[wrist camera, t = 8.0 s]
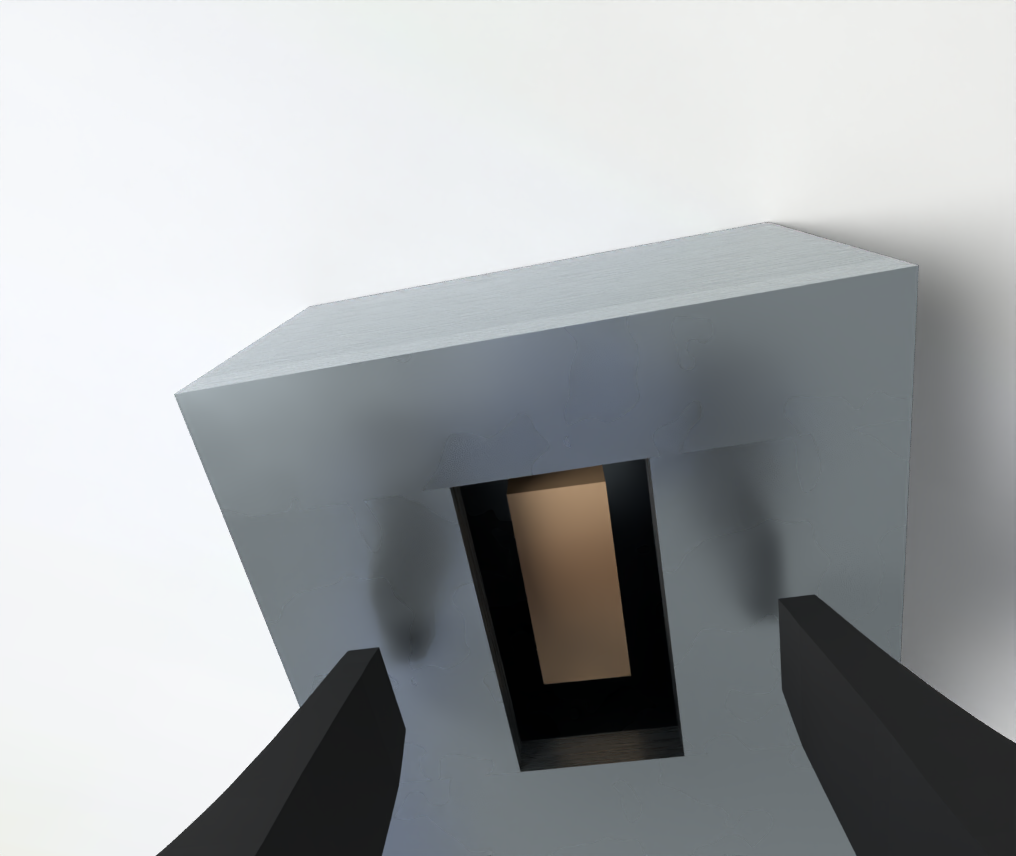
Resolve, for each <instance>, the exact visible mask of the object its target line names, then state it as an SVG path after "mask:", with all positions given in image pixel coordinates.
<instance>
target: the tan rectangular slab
mask: <svg viewBox="0 0 1016 856" xmlns="http://www.w3.org/2000/svg"><path fill="white" fill-rule="evenodd" d="M507 499H508V504H509V509H510V514H511V519H512V524H513V530H514V535H515V540H516V545H517V550H518V555H519V560H520V565H521V570H522V575H523V580H524V585H525V591H526V596H527V601H528V606H529V611H530V616H531V621H532V626H533V631H534V636H535V641H536V646H537V652H538V657H539V662H540V667H541V672H542V677H543V682H544V684H552V683H563V682H573V681H583V680H593V679H603V678H613V677H623V676H631V672H630V664H629V656H628V649H627V641H626V634H625V626H624V618H623V611H622V603H621V596H620V588H619V580H618V573H617V565H616V558H615V550H614V542H613V535H612V527H611V520H610V512H609V505H608V497H607V489H606V482H605V477H604V472H603V467H602V465H598V466H591V467H585V468H578V469H571V470H564V471H558V472H551V473H544V474H537V475H531V476H524V477H517V478H510V479H508V486H507Z"/></svg>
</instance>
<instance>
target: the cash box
mask: <svg viewBox="0 0 1016 856" xmlns="http://www.w3.org/2000/svg"><path fill="white" fill-rule="evenodd" d="M918 269H919V265H916V264H912V263H909V262H905V261H902V260H898V259H895V258H891V257H888V256H885V255H881V254H878V253H874V252H871V251H867V250H864V249H860V248H857V247H853V246H850V245H846V244H843V243H839V242H836V241H833V240H829V239H826V238H822V237H819V236H815V235H812V234H808V233H805V232H801V231H798V230H794V229H791V228H787V227H784V226H781V225H777V224H774V223H770V222H765V223H760V224H754V225H749V226H743V227H738V228H733V229H727V230H722V231H716V232H711V233H705V234H700V235H695V236H689V237H684V238H678V239H673V240H668V241H662V242H657V243H651V244H646V245H641V246H635V247H630V248H624V249H619V250H613V251H608V252H603V253H597V254H592V255H586V256H581V257H576V258H570V259H565V260H559V261H554V262H549V263H543V264H538V265H532V266H527V267H521V268H516V269H511V270H505V271H500V272H494V273H489V274H484V275H478V276H473V277H467V278H462V279H457V280H451V281H446V282H440V283H435V284H429V285H424V286H419V287H413V288H408V289H402V290H397V291H392V292H386V293H381V294H375V295H370V296H364V297H359V298H354V299H348V300H343V301H337V302H332V303H327V304H321V305H316V306H310V307H308V308H306V309H305V310H303V311H302V312H300V313H299V314H297V315H296V316H294V317H292V318H291V319H289V320H288V321H286V322H285V323H283V324H282V325H280V326H279V327H277V328H276V329H274V330H272V331H271V332H269V333H268V334H266V335H265V336H263V337H262V338H260V339H259V340H257V341H255V342H254V343H252V344H251V345H249V346H248V347H246V348H245V349H243V350H242V351H240V352H238V353H237V354H235V355H234V356H232V357H231V358H229V359H228V360H226V361H225V362H223V363H222V364H220V365H218V366H217V367H215V368H214V369H212V370H211V371H209V372H208V373H206V374H205V375H203V376H201V377H200V378H198V379H197V380H195V381H194V382H192V383H191V384H189V385H188V386H186V387H184V388H183V389H181V390H180V391H178V392H177V393H175V394H174V395H175V397H176V400H177V402H178V405H179V407H180V410H181V412H182V415H183V417H184V420H185V422H186V425H187V427H188V430H189V432H190V435H191V437H192V440H193V442H194V445H195V447H196V450H197V452H198V455H199V457H200V460H201V462H202V465H203V467H204V470H205V472H206V475H207V477H208V480H209V482H210V485H211V487H212V490H213V492H214V495H215V497H216V500H217V502H218V505H219V507H220V509H221V512H222V514H223V517H224V519H225V522H226V524H227V527H228V529H229V532H230V534H231V537H232V539H233V542H234V544H235V547H236V549H237V552H238V554H239V557H240V559H241V562H242V564H243V567H244V569H245V572H246V574H247V577H248V579H249V582H250V584H251V587H252V589H253V592H254V594H255V597H256V599H257V602H258V604H259V607H260V609H261V612H262V614H263V617H264V619H265V621H266V624H267V626H268V629H269V631H270V634H271V636H272V639H273V641H274V644H275V646H276V649H277V651H278V654H279V656H280V659H281V661H282V664H283V666H284V669H285V671H286V674H287V676H288V679H289V681H290V684H291V686H292V689H293V691H294V694H295V696H296V699H297V701H298V704H299V706H300V707H301V706H302V705H303V704H304V703H305V701H306V700H307V699H308V698H309V696H310V695H311V694H312V693H313V692H314V690H315V689H316V688H317V687H318V686H319V684H320V683H321V682H322V681H323V680H324V678H325V677H326V676H327V675H328V674H329V672H330V671H331V670H332V669H333V667H334V666H335V665H336V664H337V663H338V662H339V660H340V659H341V658H342V657H343V656H344V655H345V654H346V652H347V651H350V650H359V649H367V648H375V647H379V648H380V651H381V654H382V657H383V661H384V664H385V667H386V670H387V673H388V676H389V679H390V682H391V685H392V688H393V691H394V694H395V697H396V700H397V703H398V706H399V709H400V712H401V715H402V718H403V722H404V725H405V728H406V734H405V743H404V752H403V760H402V768H401V775H400V782H399V788H398V792H397V797H396V801H395V805H394V809H393V813H392V817H391V821H390V825H389V830H388V834H387V838H386V842H385V846H384V850H383V854H382V856H856V854H855V852H854V850H853V848H852V846H851V844H850V842H849V840H848V838H847V836H846V834H845V832H844V830H843V828H842V826H841V824H840V822H839V820H838V818H837V816H836V814H835V812H834V810H833V808H832V806H831V804H830V802H829V800H828V798H827V796H826V794H825V792H824V790H823V788H822V786H821V784H820V782H819V779H818V777H817V775H816V773H815V771H814V769H813V767H812V765H811V763H810V761H809V759H808V757H807V755H806V753H805V751H804V749H803V747H802V744H801V741H800V739H799V736H798V733H797V731H796V728H795V725H794V723H793V720H792V717H791V714H790V711H789V708H788V706H787V703H786V700H785V697H784V694H783V692H782V683H781V658H780V634H779V609H778V599H780V598H788V597H797V596H805V595H813V594H815V595H816V596H817V597H819V598H820V599H821V600H823V601H824V602H825V603H826V604H828V605H829V606H830V607H831V608H832V609H834V610H835V611H836V612H837V613H838V614H840V615H841V616H842V617H843V618H844V619H846V620H847V621H848V622H849V623H850V624H852V625H853V626H854V627H855V628H856V629H858V630H859V631H860V632H861V633H863V634H864V635H865V636H866V637H868V638H869V639H870V640H871V641H872V642H874V643H875V644H876V645H877V646H879V647H880V648H881V649H882V650H884V651H885V652H886V653H888V654H889V655H890V656H891V657H893V658H894V659H895V660H897V661H898V662H899V663H900V662H901V640H902V619H903V597H904V575H905V553H906V531H907V509H908V488H909V466H910V444H911V422H912V400H913V378H914V357H915V335H916V313H917V291H918ZM598 465H602V467H603V472H604V477H605V482H606V489H607V497H608V505H609V512H610V520H611V527H612V535H613V542H614V550H615V558H616V565H617V573H618V580H619V588H620V596H621V603H622V611H623V618H624V626H625V634H626V641H627V649H628V656H629V664H630V672H631V676H623V677H613V678H603V679H593V680H583V681H573V682H563V683H552V684H544V682H543V677H542V672H541V667H540V662H539V657H538V652H537V646H536V641H535V636H534V631H533V626H532V621H531V616H530V611H529V606H528V601H527V596H526V591H525V585H524V580H523V575H522V570H521V565H520V560H519V555H518V550H517V545H516V540H515V535H514V530H513V524H512V519H511V514H510V509H509V504H508V499H507V486H508V479H510V478H517V477H524V476H531V475H537V474H544V473H551V472H558V471H564V470H571V469H578V468H585V467H591V466H598Z"/></svg>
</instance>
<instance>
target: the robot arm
mask: <svg viewBox="0 0 1016 856" xmlns="http://www.w3.org/2000/svg"><path fill="white" fill-rule="evenodd" d="M778 609H779V634H780V658H781V683H782V692H783V694H784V697H785V700H786V703H787V706H788V708H789V711H790V714H791V717H792V720H793V723H794V725H795V728H796V731H797V733H798V736H799V739H800V741H801V744H802V747H803V749H804V751H805V753H806V755H807V757H808V759H809V761H810V763H811V765H812V767H813V769H814V771H815V773H816V775H817V777H818V779H819V782H820V784H821V786H822V788H823V790H824V792H825V794H826V796H827V798H828V800H829V802H830V804H831V806H832V808H833V810H834V812H835V814H836V816H837V818H838V820H839V822H840V824H841V826H842V828H843V830H844V832H845V834H846V836H847V838H848V840H849V842H850V844H851V846H852V848H853V850H854V852H855V854H856V856H1016V743H1014V742H1013V741H1011V740H1009V739H1008V738H1006V737H1004V736H1003V735H1001V734H1000V733H998V732H996V731H995V730H993V729H992V728H990V727H989V726H987V725H986V724H984V723H983V722H981V721H979V720H978V719H977V718H975V717H974V716H972V715H971V714H969V713H968V712H966V711H965V710H963V709H962V708H961V707H959V706H958V705H956V704H955V703H953V702H952V701H950V700H949V699H948V698H946V697H945V696H943V695H942V694H941V693H939V692H938V691H936V690H935V689H934V688H932V687H931V686H930V685H928V684H927V683H926V682H924V681H923V680H922V679H920V678H919V677H918V676H916V675H915V674H914V673H912V672H911V671H910V670H908V669H907V668H906V667H904V666H903V665H902V664H900V663H899V662H898V661H897V660H895V659H894V658H893V657H891V656H890V655H889V654H888V653H886V652H885V651H884V650H882V649H881V648H880V647H879V646H877V645H876V644H875V643H874V642H872V641H871V640H870V639H869V638H868V637H866V636H865V635H864V634H863V633H861V632H860V631H859V630H858V629H856V628H855V627H854V626H853V625H852V624H850V623H849V622H848V621H847V620H846V619H844V618H843V617H842V616H841V615H840V614H838V613H837V612H836V611H835V610H834V609H832V608H831V607H830V606H829V605H828V604H826V603H825V602H824V601H823V600H821V599H820V598H819V597H817V596H816V595H815V594H813V595H805V596H797V597H788V598H780V599H778ZM405 734H406V728H405V725H404V722H403V718H402V715H401V712H400V709H399V706H398V703H397V700H396V697H395V694H394V691H393V688H392V685H391V682H390V679H389V676H388V673H387V670H386V667H385V664H384V661H383V657H382V654H381V651H380V648H379V647H375V648H367V649H359V650H350V651H347V652H346V654H345V655H344V656H343V657H342V658H341V659H340V660H339V662H338V663H337V664H336V665H335V666H334V667H333V669H332V670H331V671H330V672H329V674H328V675H327V676H326V677H325V678H324V680H323V681H322V682H321V683H320V684H319V686H318V687H317V688H316V689H315V690H314V692H313V693H312V694H311V695H310V696H309V698H308V699H307V700H306V701H305V703H304V704H303V705H302V706H301V707H300V708H299V710H298V711H297V712H296V713H295V714H294V715H293V717H292V718H291V719H290V720H289V721H288V722H287V724H286V725H285V726H284V727H283V728H282V729H281V731H280V732H279V733H278V734H277V735H276V737H275V738H274V739H273V740H272V741H271V742H270V743H269V744H268V745H267V746H266V748H265V749H264V750H263V751H262V752H261V753H260V754H259V755H258V756H257V757H256V758H255V759H254V761H253V762H252V763H251V764H250V765H249V766H248V767H247V768H246V769H245V770H244V771H243V772H242V774H241V775H240V776H239V777H238V778H237V779H236V780H235V781H234V782H233V783H232V784H231V785H230V786H229V788H228V789H227V790H226V791H225V792H224V793H223V794H222V795H221V796H220V797H219V798H218V799H217V800H216V801H215V802H214V803H213V804H212V805H211V806H210V807H209V808H207V809H206V810H205V811H204V812H203V813H202V814H201V815H200V816H199V817H198V818H197V819H196V820H195V821H194V822H193V823H192V824H191V825H190V826H188V827H187V828H186V829H185V830H184V831H183V832H182V833H181V834H180V835H179V836H178V837H177V838H176V839H175V840H173V841H172V842H171V843H170V844H169V845H168V846H167V847H166V848H164V849H163V850H162V851H161V852H160V853H159V854H157V855H156V856H382V854H383V850H384V846H385V842H386V838H387V834H388V830H389V825H390V821H391V817H392V813H393V809H394V805H395V801H396V797H397V792H398V788H399V782H400V775H401V768H402V760H403V752H404V743H405Z"/></svg>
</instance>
